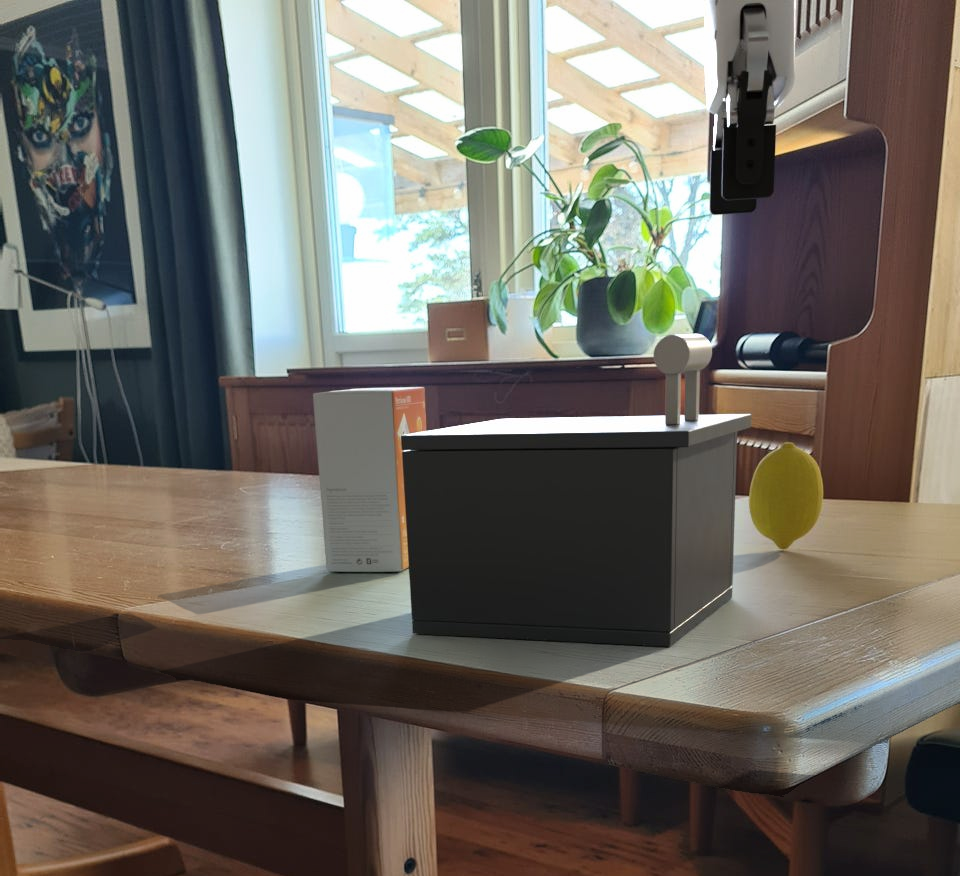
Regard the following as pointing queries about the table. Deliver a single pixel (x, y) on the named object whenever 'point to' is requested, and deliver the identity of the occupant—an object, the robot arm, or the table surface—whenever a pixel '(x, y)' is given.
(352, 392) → the small box
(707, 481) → the chest
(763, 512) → the lemon
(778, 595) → the table surface
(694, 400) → the lid
